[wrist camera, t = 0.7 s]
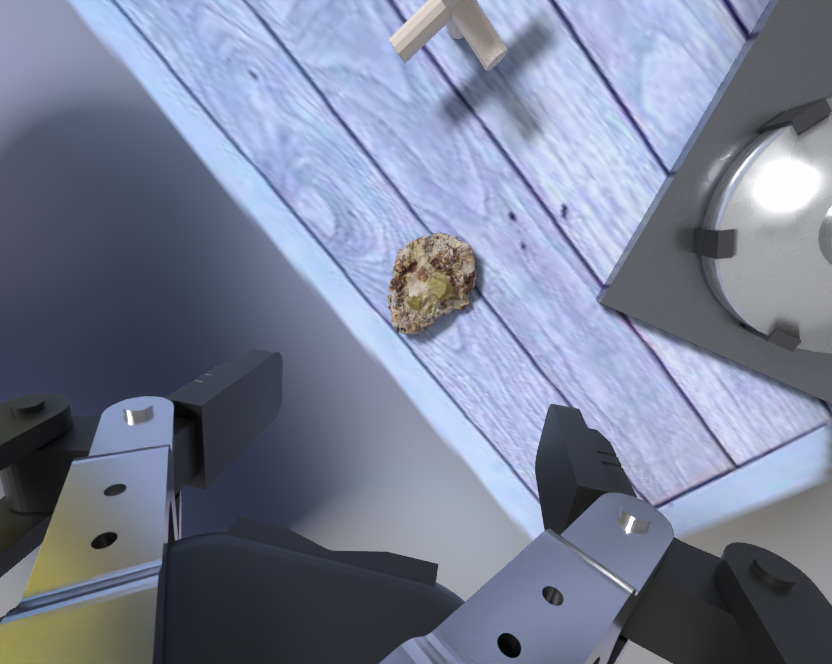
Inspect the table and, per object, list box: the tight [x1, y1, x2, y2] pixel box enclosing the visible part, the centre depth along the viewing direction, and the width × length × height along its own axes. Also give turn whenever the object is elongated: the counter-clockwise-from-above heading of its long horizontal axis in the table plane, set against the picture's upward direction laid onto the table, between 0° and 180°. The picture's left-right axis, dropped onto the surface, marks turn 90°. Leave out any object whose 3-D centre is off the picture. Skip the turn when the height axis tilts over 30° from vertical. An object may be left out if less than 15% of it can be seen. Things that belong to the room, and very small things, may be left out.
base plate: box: [596, 0, 832, 404], centre depth 32 cm, size 24×24×2 cm
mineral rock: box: [388, 233, 477, 335], centre depth 38 cm, size 11×4×8 cm
